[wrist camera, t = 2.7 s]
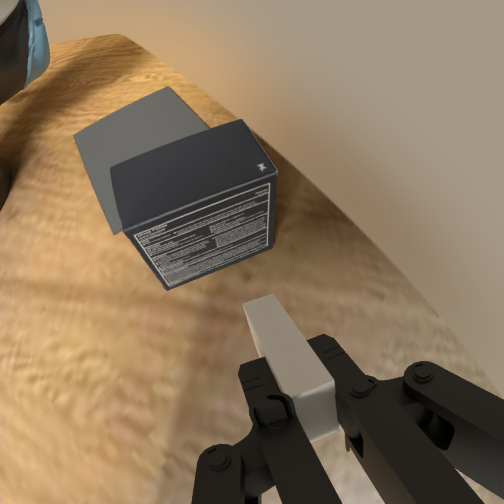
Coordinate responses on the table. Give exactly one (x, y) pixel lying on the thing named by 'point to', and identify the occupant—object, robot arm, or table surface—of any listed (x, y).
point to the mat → (132, 140)
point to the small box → (198, 202)
